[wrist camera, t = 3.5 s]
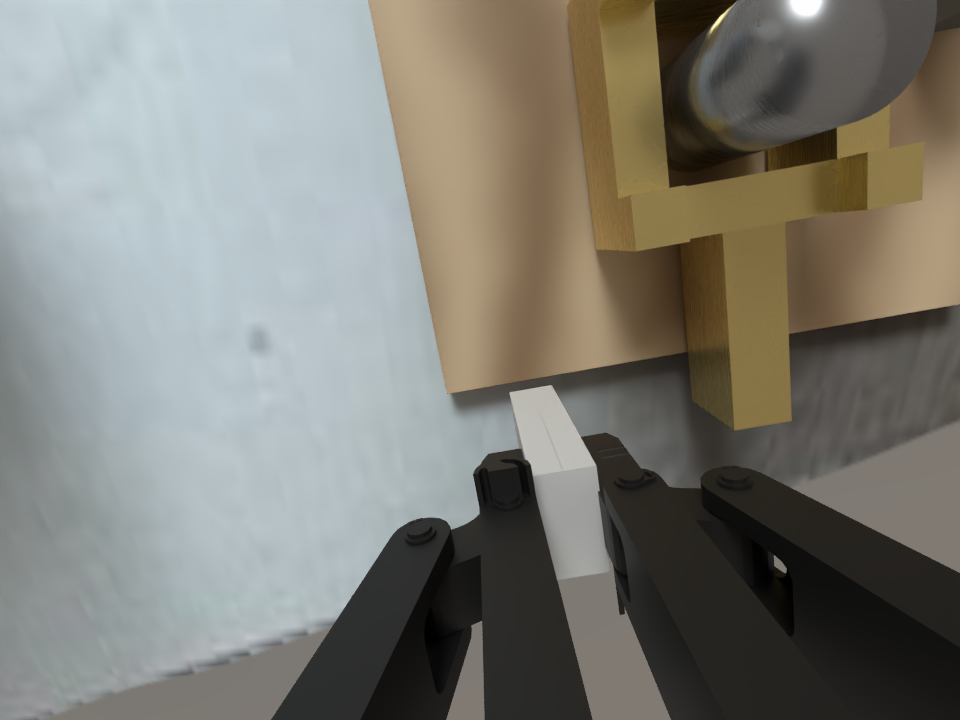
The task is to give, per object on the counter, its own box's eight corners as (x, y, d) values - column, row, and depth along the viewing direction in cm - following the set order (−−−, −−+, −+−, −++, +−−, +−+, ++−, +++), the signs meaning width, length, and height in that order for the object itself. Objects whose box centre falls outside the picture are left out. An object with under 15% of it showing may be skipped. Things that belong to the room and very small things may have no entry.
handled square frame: (567, 6, 17) (602, -80, 13) (806, -39, 17) (932, -144, 13) (615, 413, 21) (657, 462, 16) (815, 378, 21) (916, 417, 16)
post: (633, 184, 20) (759, 140, 11) (623, 77, 19) (751, -61, 11) (731, 166, 20) (933, 108, 11) (725, 58, 19) (940, -97, 10)
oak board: (448, 386, 22) (447, 393, 21) (353, -89, 18) (345, -112, 17) (947, 298, 22) (974, 301, 20) (968, -208, 17) (1003, -240, 16)
